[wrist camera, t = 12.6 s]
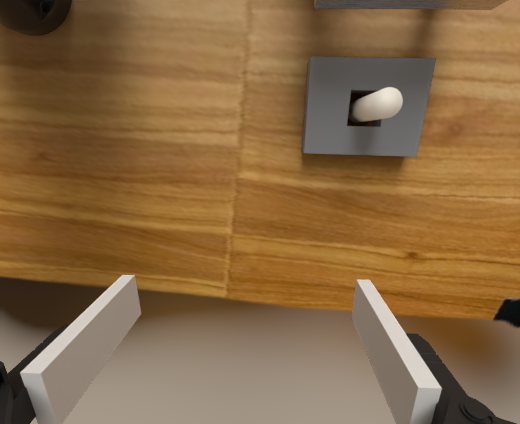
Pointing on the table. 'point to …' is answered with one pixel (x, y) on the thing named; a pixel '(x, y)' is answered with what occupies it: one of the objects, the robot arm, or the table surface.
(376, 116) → the peg
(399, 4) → the grey legged flat piece
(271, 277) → the table surface
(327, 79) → the socket block
